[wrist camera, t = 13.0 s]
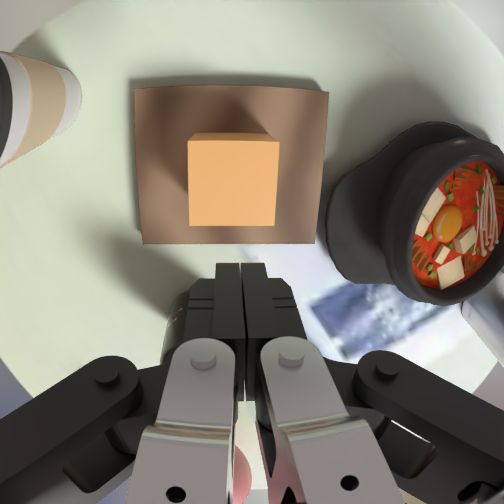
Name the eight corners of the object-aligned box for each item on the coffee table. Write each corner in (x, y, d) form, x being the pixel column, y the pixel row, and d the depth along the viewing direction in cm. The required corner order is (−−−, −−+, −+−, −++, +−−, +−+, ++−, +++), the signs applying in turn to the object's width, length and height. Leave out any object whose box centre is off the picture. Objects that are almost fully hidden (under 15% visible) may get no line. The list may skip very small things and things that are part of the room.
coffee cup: (106, 119, 25) (7, 147, 11) (35, 164, 25) (-68, 222, 12) (74, 39, 21) (-32, 13, 7) (6, 90, 21) (-104, 109, 8)
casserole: (497, 111, 26) (548, 124, 19) (494, 249, 35) (532, 279, 27) (302, 140, 27) (331, 157, 20) (332, 305, 36) (355, 356, 28)
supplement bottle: (164, 289, 33) (143, 374, 22) (228, 283, 33) (232, 370, 22) (177, 338, 36) (166, 423, 25) (235, 333, 36) (241, 419, 26)
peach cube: (268, 133, 25) (279, 141, 20) (265, 202, 28) (274, 225, 23) (195, 132, 25) (187, 140, 20) (195, 202, 27) (189, 225, 22)
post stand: (323, 92, 25) (346, 91, 20) (310, 237, 31) (326, 264, 26) (138, 89, 24) (119, 87, 19) (146, 237, 30) (132, 265, 25)
